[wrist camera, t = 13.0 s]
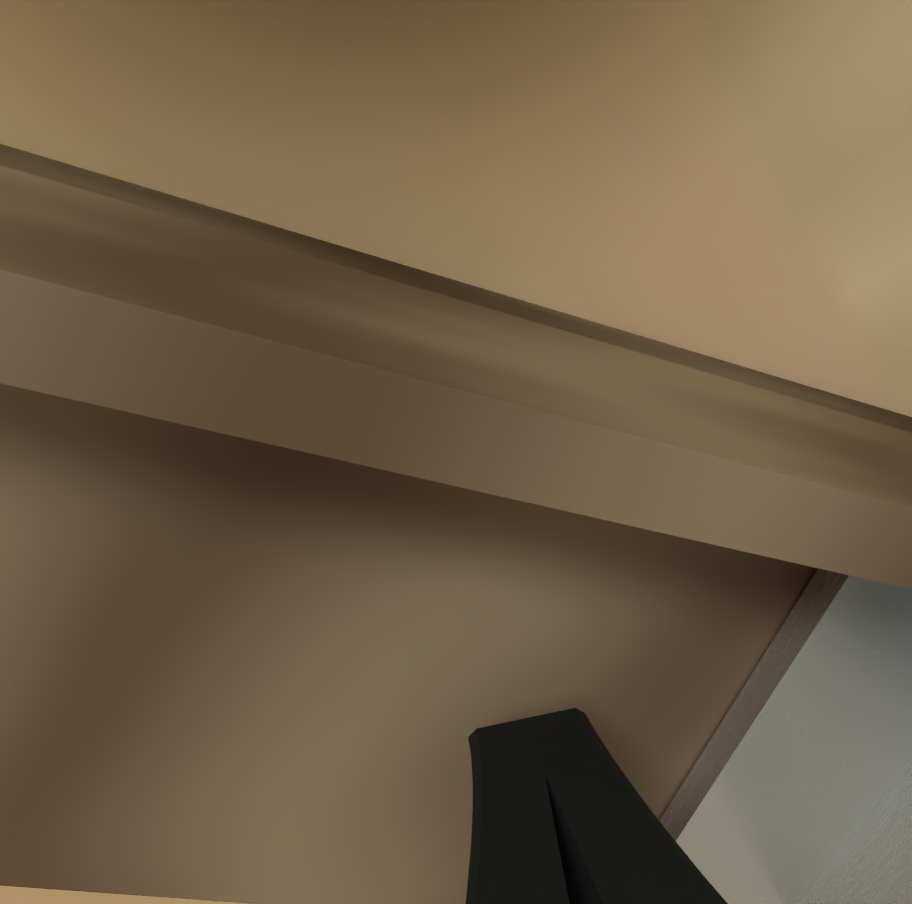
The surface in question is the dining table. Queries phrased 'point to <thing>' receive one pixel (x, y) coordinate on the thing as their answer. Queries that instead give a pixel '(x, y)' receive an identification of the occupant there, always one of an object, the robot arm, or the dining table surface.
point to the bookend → (812, 759)
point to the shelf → (363, 546)
